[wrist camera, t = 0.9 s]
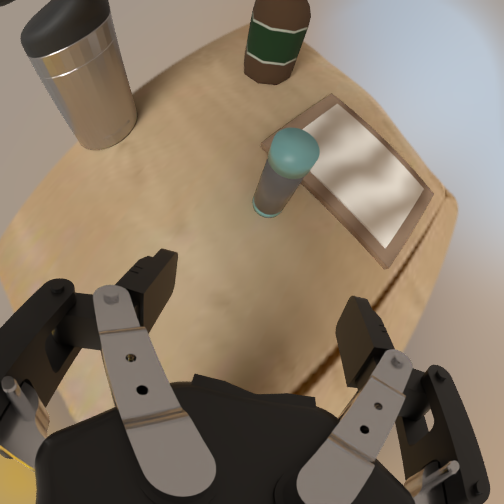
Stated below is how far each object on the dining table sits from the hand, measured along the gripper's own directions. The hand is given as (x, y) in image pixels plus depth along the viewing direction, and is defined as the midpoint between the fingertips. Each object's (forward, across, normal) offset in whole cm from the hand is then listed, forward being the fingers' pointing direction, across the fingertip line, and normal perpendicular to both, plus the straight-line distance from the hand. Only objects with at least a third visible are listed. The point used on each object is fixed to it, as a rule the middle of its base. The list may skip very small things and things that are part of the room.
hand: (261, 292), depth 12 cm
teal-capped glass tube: (+21, 0, +1) cm, 21 cm away
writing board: (+27, -11, -5) cm, 29 cm away
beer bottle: (+35, +5, -17) cm, 39 cm away
